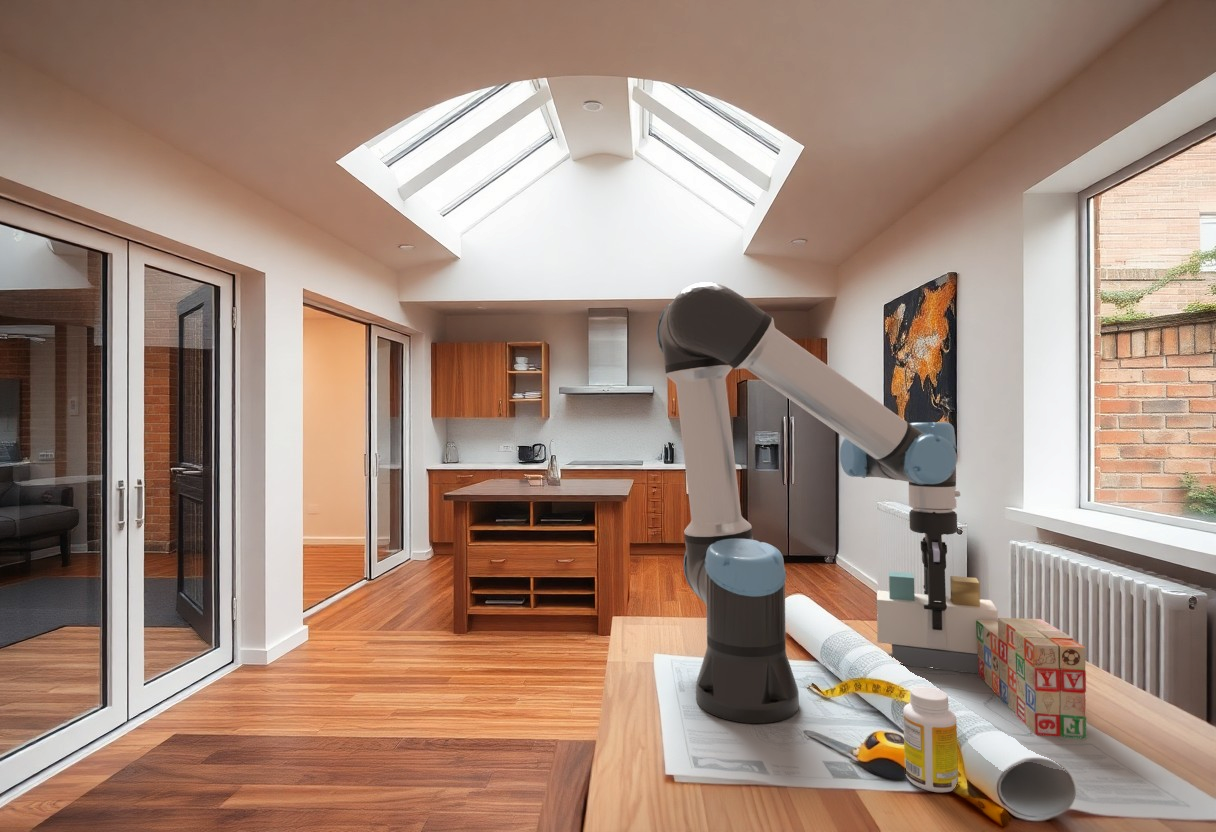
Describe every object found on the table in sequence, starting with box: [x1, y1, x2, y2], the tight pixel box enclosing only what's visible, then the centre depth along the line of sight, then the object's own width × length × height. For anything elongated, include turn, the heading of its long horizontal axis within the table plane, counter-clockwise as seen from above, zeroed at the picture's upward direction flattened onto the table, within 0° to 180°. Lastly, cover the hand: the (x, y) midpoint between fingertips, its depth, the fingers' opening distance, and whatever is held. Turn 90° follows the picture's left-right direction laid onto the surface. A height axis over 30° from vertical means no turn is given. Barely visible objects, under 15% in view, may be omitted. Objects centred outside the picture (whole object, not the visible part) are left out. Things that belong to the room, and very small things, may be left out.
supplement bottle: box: [902, 686, 959, 793], centre depth 75 cm, size 6×6×10 cm
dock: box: [891, 644, 979, 674], centre depth 113 cm, size 14×8×3 cm, turn 67°
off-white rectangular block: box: [876, 589, 999, 654], centre depth 113 cm, size 18×7×8 cm, turn 67°
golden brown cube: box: [949, 575, 981, 607], centre depth 111 cm, size 4×4×4 cm
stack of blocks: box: [976, 617, 1087, 739], centre depth 96 cm, size 21×6×12 cm, turn 169°
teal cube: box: [888, 570, 915, 601], centre depth 115 cm, size 4×4×4 cm
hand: (935, 640), depth 113 cm, fingers closed on off-white rectangular block, 7 cm apart
